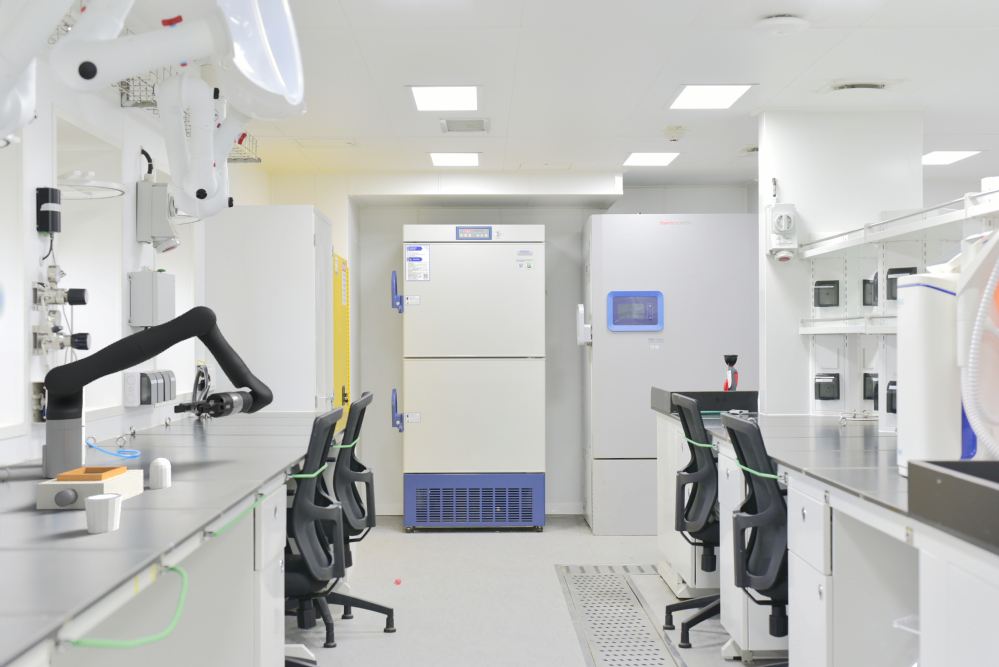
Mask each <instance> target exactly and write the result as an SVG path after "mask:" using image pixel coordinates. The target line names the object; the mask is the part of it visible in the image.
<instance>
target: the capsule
mask: <svg viewBox="0 0 999 667" xmlns="http://www.w3.org/2000/svg"><path fill="white" fill-rule="evenodd" d="M171 487H172V466H171V462H170V461H169V460H168V459H167V458H165V457H158V458H155V459H153V460H152V461H151V462H150V464H149V489H150V490H163V489H168V488H171Z"/></svg>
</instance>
